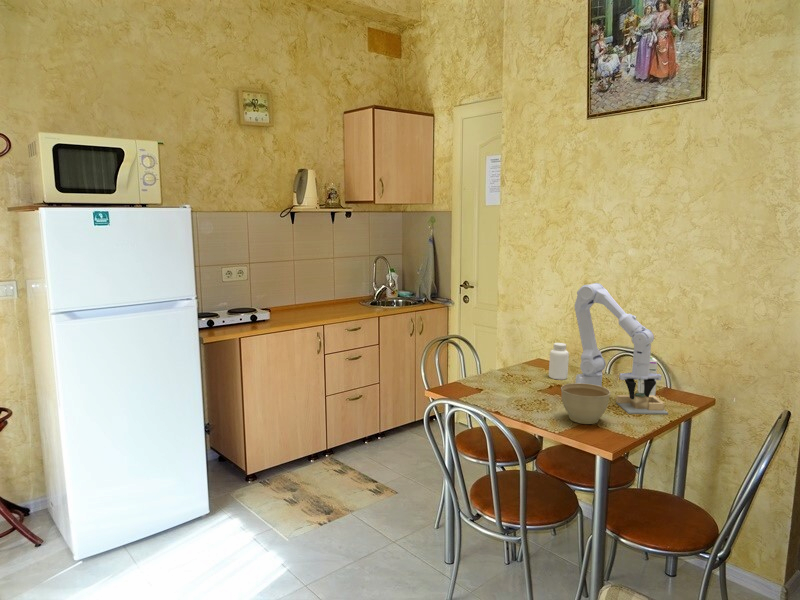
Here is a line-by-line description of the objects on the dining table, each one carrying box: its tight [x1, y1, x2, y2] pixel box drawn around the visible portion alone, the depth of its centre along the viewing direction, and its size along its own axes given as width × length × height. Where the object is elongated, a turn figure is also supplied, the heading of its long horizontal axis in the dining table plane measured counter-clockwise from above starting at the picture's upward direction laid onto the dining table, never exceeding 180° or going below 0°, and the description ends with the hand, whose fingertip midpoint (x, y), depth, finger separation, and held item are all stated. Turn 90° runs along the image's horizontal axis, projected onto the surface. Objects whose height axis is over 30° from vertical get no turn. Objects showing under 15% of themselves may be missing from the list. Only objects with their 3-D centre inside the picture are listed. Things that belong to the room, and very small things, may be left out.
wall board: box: [616, 394, 669, 415], centre depth 204 cm, size 14×12×3 cm
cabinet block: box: [631, 392, 649, 409], centre depth 205 cm, size 4×4×5 cm
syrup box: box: [637, 356, 658, 396], centre depth 221 cm, size 6×6×14 cm
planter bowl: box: [560, 382, 611, 425], centre depth 192 cm, size 16×16×11 cm
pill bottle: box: [548, 342, 570, 380], centre depth 243 cm, size 8×8×15 cm
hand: (638, 398), depth 205 cm, fingers open, 5 cm apart
